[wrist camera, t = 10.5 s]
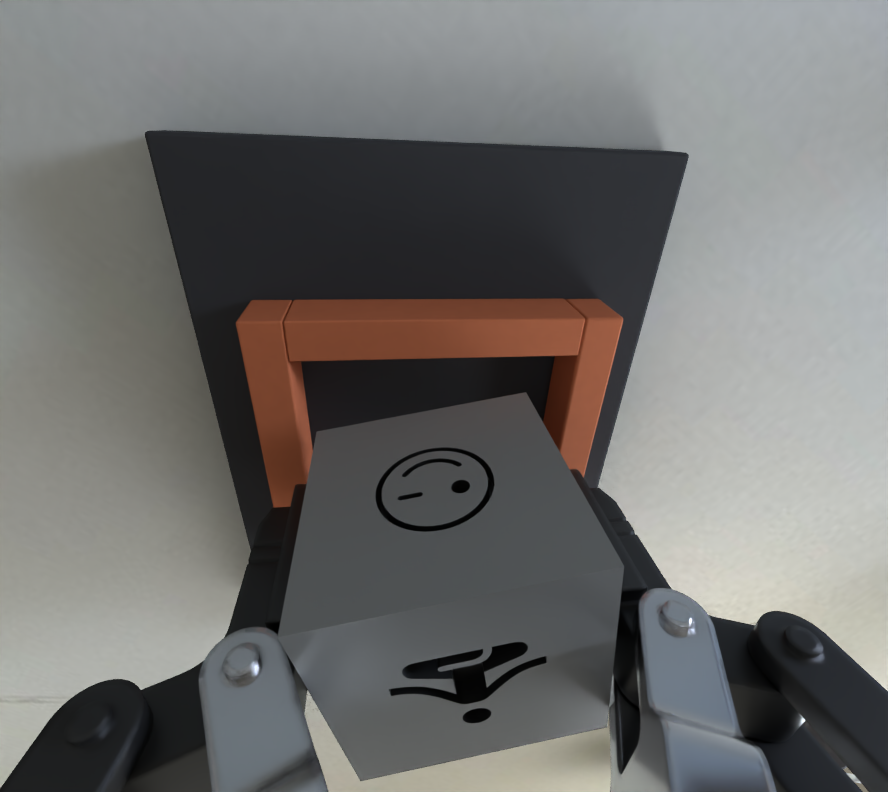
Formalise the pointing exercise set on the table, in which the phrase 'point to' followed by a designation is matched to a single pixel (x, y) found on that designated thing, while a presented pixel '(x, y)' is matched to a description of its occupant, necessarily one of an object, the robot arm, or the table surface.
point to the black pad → (408, 284)
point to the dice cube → (450, 588)
